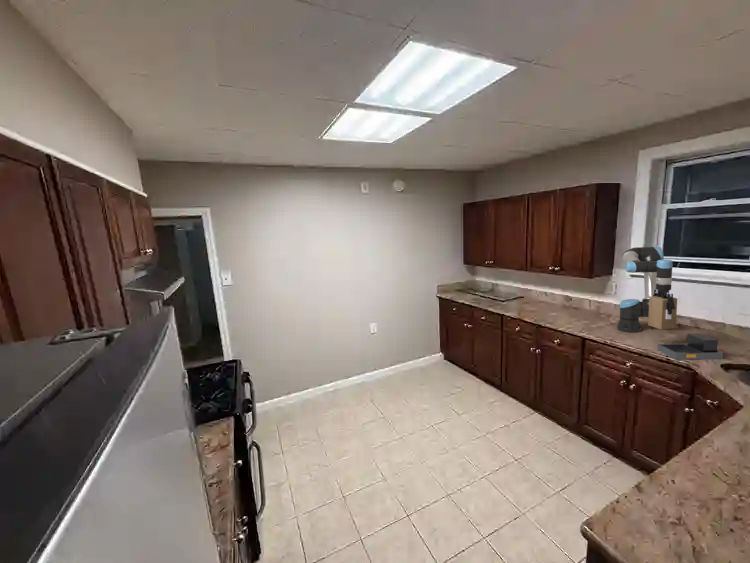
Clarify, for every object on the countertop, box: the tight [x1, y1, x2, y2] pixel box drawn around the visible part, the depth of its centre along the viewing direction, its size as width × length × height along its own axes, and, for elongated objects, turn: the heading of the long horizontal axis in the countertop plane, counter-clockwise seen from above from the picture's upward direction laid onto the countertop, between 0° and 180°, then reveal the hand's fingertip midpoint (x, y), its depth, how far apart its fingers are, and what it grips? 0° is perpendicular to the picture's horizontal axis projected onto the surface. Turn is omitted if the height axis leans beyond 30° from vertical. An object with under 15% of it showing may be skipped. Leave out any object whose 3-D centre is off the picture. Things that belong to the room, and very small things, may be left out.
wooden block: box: [647, 296, 678, 330], centre depth 214 cm, size 10×10×20 cm
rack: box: [657, 333, 724, 361], centre depth 199 cm, size 17×24×11 cm
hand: (662, 316), depth 215 cm, fingers closed on wooden block, 11 cm apart
